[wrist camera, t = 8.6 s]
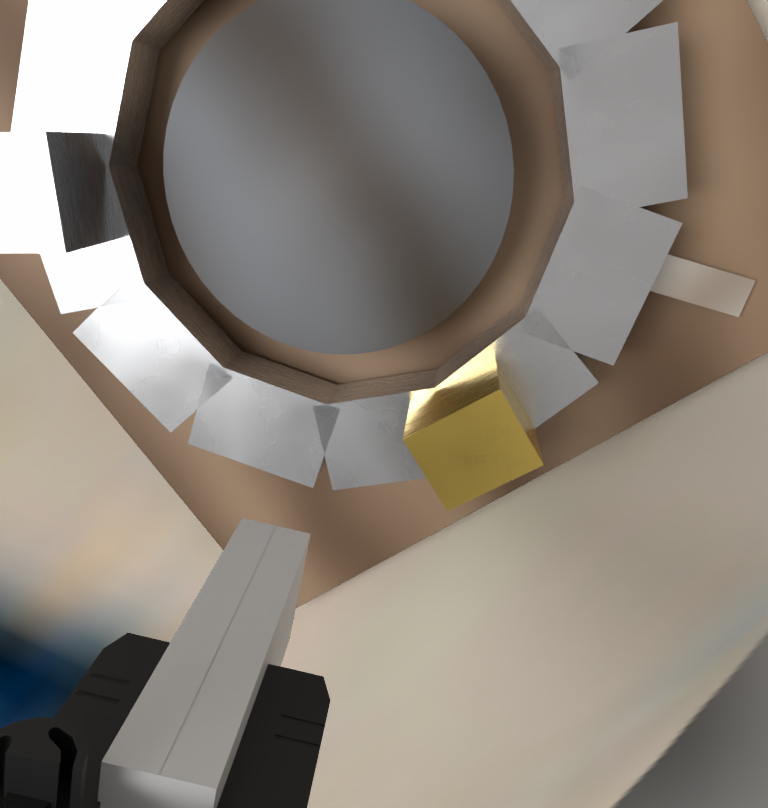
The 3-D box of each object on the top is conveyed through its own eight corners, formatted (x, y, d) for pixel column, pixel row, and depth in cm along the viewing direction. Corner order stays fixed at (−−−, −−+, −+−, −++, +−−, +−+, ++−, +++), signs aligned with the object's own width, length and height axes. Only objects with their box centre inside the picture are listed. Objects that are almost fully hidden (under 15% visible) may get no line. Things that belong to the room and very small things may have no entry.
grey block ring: (682, 418, 24) (736, 485, 19) (153, 490, 27) (88, 563, 22) (636, -288, 18) (698, -443, 13) (-38, -91, 21) (-183, -159, 16)
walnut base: (290, 588, 30) (262, 659, 26) (-118, 83, 25) (-235, 70, 21) (853, 276, 24) (937, 304, 20) (466, -500, 18) (467, -691, 14)
